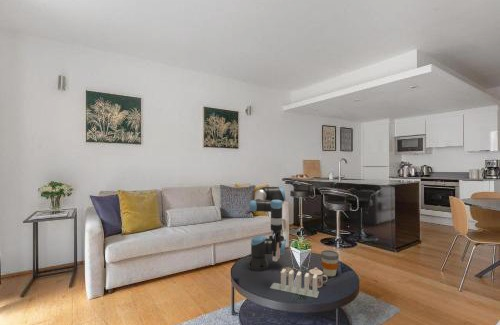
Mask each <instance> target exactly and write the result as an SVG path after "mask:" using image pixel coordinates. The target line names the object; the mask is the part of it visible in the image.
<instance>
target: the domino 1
mask: <svg viewBox="0 0 500 325" xmlns="http://www.w3.org/2000/svg"><path fill="white" fill-rule="evenodd" d="M279 259H280V258H279V242H277V261H278V260H279Z"/></svg>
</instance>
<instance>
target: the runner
mask: <svg viewBox="0 0 500 325" xmlns="http://www.w3.org/2000/svg"><path fill="white" fill-rule="evenodd" d="M269 289H272V290H277V291H282V292H286V293H293V294H296V295H297V294H298V295H300V296H302V295H303V296H307V297H312V298H316V299H317V298H318V296H319V293H320V291H318V290H317V294H316V296H312V292H313V289H309V292H308V295H306V294H304V287H301V291H300V293H297V292H296V286H294V288H293V290H292V291H288V284H286V287H285V289H284V290H282V289H281V283H277V282H273V283H272V284H271V286H270V287H269Z"/></svg>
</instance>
